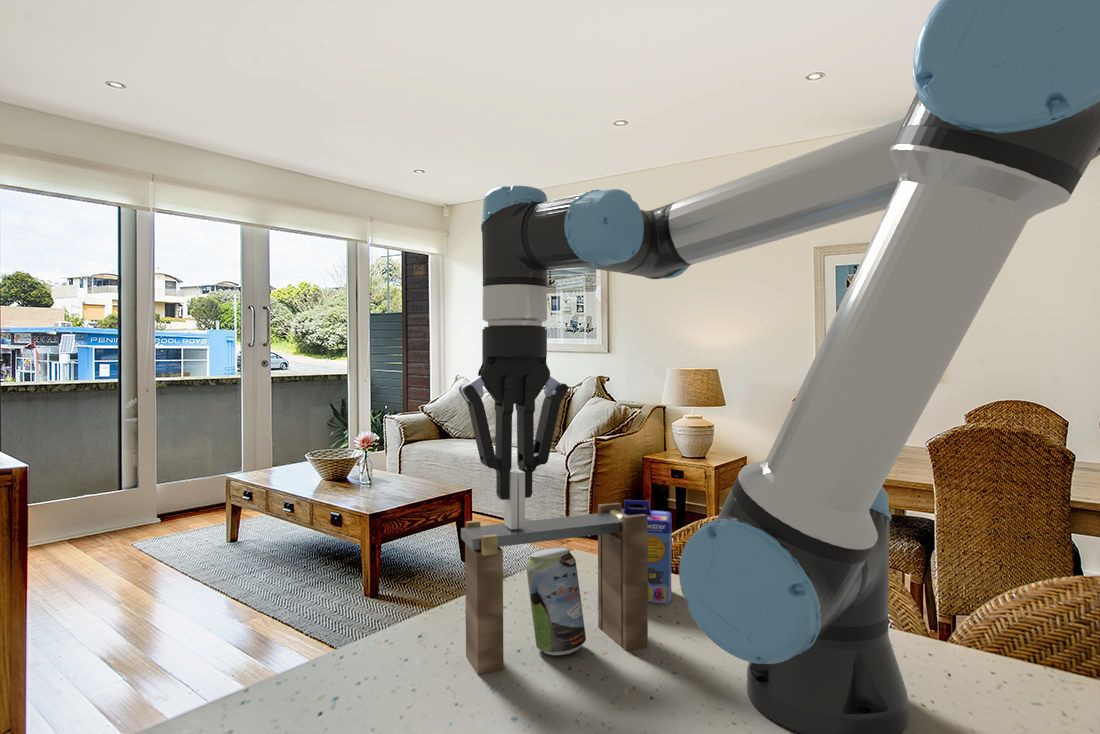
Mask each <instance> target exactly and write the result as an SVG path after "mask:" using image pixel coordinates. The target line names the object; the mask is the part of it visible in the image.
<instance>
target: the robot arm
mask: <svg viewBox="0 0 1100 734" xmlns="http://www.w3.org/2000/svg"><path fill="white" fill-rule="evenodd" d="M912 79H913V80H912V81H913V86H914V90H915V91H916V93H915V96H914V97H913V99H912V101H911V104H910V106H909V107H908V110H907V113H906V115H905V117H903V118H900V119H897V120H895V121H892V122H889V123H886V124H884V125H881V126H878V127H876V128H873V129H870V130H867V131H864V132H863V133H859V134H857V135H853V136H851V137H848V138H845V139H843V140H840V141H837V142H835V143H832V144H829V145H827V146H824V147H821V148H818V149H815V150H813V151H811V152H807V153H805V154H802V155H799V156H796V157H794V158H790V159H788V160H786V161H783V162H780V163H779V162H778V163H777V164H775V165H774V164H773V165H771V166H768V167H766V168H764V169H761V170H759V171H755V172H752V173H750V174H747V175H745V176H741V177H739V178H736V179H734V180H731V181H727V182H725V183H723V184H719V185H717V186H715V187H711V188H708V189H706V190H703V191H700V192H698V193H695V194H693V195H690V196H687V197H684V198H682V199H678V200H676V201H673V202H671V203H669V204H665V205H662V206H659V207H657V208H654V209H649V210H644V209H641V208H640V206H639V204H638V203H637V201H635V200H633V198H632V196H631V194H630V193H628V191H625V190H622V189H618V188H611V189H604V190H601V189H592V190H589V191H585V192H583V193H580V194H575V195H572V196H566V197H565V196H564V197H562V198H556V199H552V200H548V197H547V194H546V193H545V192H544V191H543V190H542V189H540V188H537V187H533V186H527V185H511V186H505V185H504V186H498V187H495V188H492V189H490V190H488V191H487V193H486V194H485V195H484V197H483V198H484V199H483V205H482V206H483V207H482V208H483V209H482V220H481V221H482V222H481V225H480V230H481V234H482V235H481V237H482V239H481V241H482V242H481V244H482V246H481V247H482V248H481V249H482V252H481V253H482V257H481V258H482V320H483V321H484V322H487V326H483V329H482V330H481V331H482V335H481V337H482V340H481V341H482V346H481V347H482V348H481V349H482V351H481V353H482V354H481V355H482V358H481V359H482V362H481V363H482V364H481V366H480V368H479V369H478V371H477V372H478V373H477V376H476V377H475V378H473V379H472V380H471V381H470V382H468V383H463V384H461V385H460V386H459V389H458V390H459V394H461V396H462V398H463V399H464V401H465V403H466V404H467V406H468V411H469V417H470V420H471V424H472V429H473V435H474V438H475V442H476V447H477V451H478V454H479V455H478V456H479V460H480V463H481V464H482V465H484V466H485V467H488V468H489V469H493V470H495V473H496V476H495V477H496V479H495V480H496V483H495V485H496V486H495V487H496V489H495V490H496V491H495V492H496V496H497V498H498V499H500V500H502V501H503V524H505V525H506V526H507V527H509V528H510V529H511V530H512V529H522V528H525V521H526V499H527V498H531V497H532V495H533V473H534V472H535V471H536V470H537V467H539V466H541V465H546V464H547V463H548V461H549V457H550V452H551V449H552V443H553V439H554V436H555V435H554V434H555V431H556V430H555V429H556V425H557V419H558V415H559V411H560V406H561V403H562V401H563V400H564V398H565V396H566V395H567V393H568V391H569V386H568V384H566V383H562V382H559V381H557V380H556V379H555V378H554V377H552V376H551V370H550V369H549V366H548V363H547V357H548V329H546V327H545V326H543V323H544V322H546V321H547V320H548V271H555V270H564V269H577V268H578V269H579V268H581V269H583V268H585V269H592V270H599V271H605V272H612V273H620V274H626V275H631V276H632V275H633V276H637V277H643V278H646V279H649V280H661V279H673V278H676V277H680V275H682V274H684V273H685V272H686V270H688V268H689V267H691V265H695V264H696V265H697V264H699V263H702V262H706V261H709V260H713V259H716V258H719V257H724V256H727V255H731V254H734V253H737V252H741V251H745V250H747V249H752V248H756V247H758V246H762V245H766V244H769V243H773V242H776V241H779V240H783V239H787V238H790V237H793V236H797V235H801V234H805V233H808V232H810V231H811V232H812V231H815V230H819V229H821V228H826V227H829V226H833V225H837V224H840V223H844V222H846V221H850V220H853V219H858V218H861V217H864V216H868V215H871V214H875V213H879V212H882V211H884V213H883V215H882V217H881V219H880V221H879V223H878V225H877V227H876V229H875V232H874V234H873V235H872V237H871V239H870V241H869V244H868V246H867V248H866V250H865V253H864V255H863V256H862V259H861V261H860V263H859V265H858V267H857V268H856V271H855V273H854V275H853V277H852V280H851V281H850V284H849V286H848V288H847V290H846V292H845V294H844V296H843V298H842V300H841V302H840V303H839V306H838V309H837V311H836V312H835V315H834V317H833V319H832V321H831V323H830V325H829V328H828V330H827V331H826V334H825V336H824V337H823V340H822V341H821V344H820V346H819V348H818V351H817V352H816V354H815V357H814V359H813V361H812V362H811V365H810V367H809V369H808V371H807V374H806V376H804V377H805V378H804V380H803V381H802V384H801V386H800V388H799V390H798V392H797V394H796V397H795V398H794V400H793V403H792V404H791V407H790V408H789V410H788V412H787V415H786V417H785V419H784V421H783V423H782V426H781V427H780V429H779V432H778V434H777V435H776V438H775V440H774V442H773V444H772V446H771V449H770V451H769V452H768V455H767V456H766V458H765V459H763V460H759V461H756V462H753V463H750V464H747V465H744V466H742V467H741V469H740V471H739V472H738V473H737V476H736V478H735V481H734V482H733V485H732V486H731V489H730V491H729V493H728V495H727V497H726V498H725V501H724V503H723V505H722V508H721V509H720V512H719V514H718V516H717V517H716V519H715V520H711V521H708V522H706V523H704V524H702V525H701V527H700V528H699V529H697V530H696V531H695V532H694V533H693V534H692V536H691V537H690V538H688V540H687V541H686V543H685V545H684V547H683V549H682V551H681V552H682V553H681V555H680V559H679V566H678V567H679V568H678V575H679V576H678V577H679V584H680V585H679V586H680V590H681V593H682V596H684V597H685V600H686V603H687V609H688V611H689V613H690V616H691V617H692V619H693V620H694V621H695V623H696V624H697V625H698V627H699V629H700V630H701V631H702V632H703V633H704V635H705V636H707V638H709V639H710V641H711V642H712V643H714V644H715V645H717V646H718V647H719V648H720V649H721V650H723V651H724V652H726V653H728V654H729V655H731V656H734V657H735V658H737V659H740V660H742V661H745V662H748V664H747V669H746V670H747V671H746V692H747V696H748V698H749V700H750V702H751V703H752V704H753V706H754V707H755V708H756V709H757V711H760V713H761V714H763V715H764V716H765V717H767V718H768V719H770V720H771V721H773V722H775V723H777V724H779V725H780V726H783V727H785V728H787V729H789V730H792V731H795V732H796V733H799V734H901V733H902V731H904V730H905V729H906V727H907V725H908V721H909V696H908V691H907V688H906V684H905V681H904V679H903V675H902V673H901V669H900V667H899V664H898V661H897V658H896V655H895V652H894V649H893V645H892V643H891V639H890V637H889V612H890V611H889V609H890V608H889V603H890V602H889V599H890V597H889V596H890V595H889V594H890V593H889V589H890V587H889V586H890V585H889V584H890V583H889V582H890V581H889V580H890V522H892V514H891V512H890V505H889V503H890V502H889V495H888V492H887V491H886V489H885V488H884V487H883V485H884V484H885V482H886V479H887V478H888V477H889V475H890V472H891V471H892V469H893V467H894V466H895V463H896V462H897V460H898V458H899V456H900V455H901V453H902V451H903V449H904V447H905V445H906V443H907V442H908V440H909V438H910V436H911V435H912V432H913V431H914V429H915V428H916V427H915V426H916V425H917V424H918V422H919V419H920V418H921V416H922V414H923V412H924V410H925V409H926V407H927V405H928V403H929V401H931V400H930V399H931V398H932V396H933V394H934V392H935V391H936V388H937V386H938V385H939V384H940V381H941V380H942V378H943V376H944V375H945V372H946V370H947V369H948V367H949V365H950V363H951V362H952V360H953V358H954V356H955V354H956V352H957V350H958V349H959V347H960V345H961V343H962V341H963V339H964V337H965V336H966V334H967V333H968V330H969V328H970V327H971V326H972V323H973V321H974V319H975V318H976V317H977V314H978V312H979V310H980V308H982V304H984V301H985V299H986V298H987V295H988V294H989V293H990V291H991V288H992V286H993V285H994V283H995V281H996V280H997V277H998V275H999V274H1000V272H1001V270H1002V268H1004V267H1003V266H1004V265H1005V263H1006V261H1007V259H1008V257H1009V255H1010V254H1011V252H1012V250H1013V248H1014V246H1015V244H1016V243H1017V241H1018V239H1019V238H1020V235H1021V233H1022V232H1023V230H1024V229H1025V226H1027V225H1026V224H1027V223H1028V221H1029V220H1030V219H1032V218H1033V217H1035V216H1036V215H1039V214H1040V213H1041V214H1042V213H1043V212H1045V211H1048V210H1050V209H1053V208H1056V207H1058V206H1060V205H1063V204H1066V203H1067V202H1068V201H1069V200H1070V199H1071V196H1072V195H1073V192H1074V191H1075V189H1076V187H1077V185H1078V184H1079V182H1080V180H1081V178H1082V177H1083V175H1084V174H1085V172H1086V170H1087V168H1088V166H1089V165H1090V163H1091V161H1092V160H1094V159H1096V158H1097V157H1099V156H1100V0H938V1H937V3H935V5H934V7H933V8H932V9H931V11H930V12H929V13H928V15H927V17H926V19H925V21H924V22H923V24H922V27H921V28H920V31H919V34H918V37H917V39H916V42H915V46H914V52H913V62H912ZM483 387H484V389H485V390H486V391H487V393H488V394H489V395H490V397H491V399H493V401H494V411H495V445H494V444H493V440H492V436H491V430H490V427H489V426H490V425H489V422H488V418H487V413H486V409H485V405H484V402H483V400H482V398H483V396H484V390H483ZM543 389H544V390H543ZM542 390H543V392H544V395H545V396H544V397H543V401H542V406H541V411H540V415H539V420H538V425H537V429H536V433H535V434H534V431H535V427H534V424H535V423H534V421H535V420H534V419H535V418H534V417H535V415H534V414H535V412H536V399H537V398H538V396H539V395H540V393H541V392H542ZM514 406H515V408H514ZM514 409H515V410H516V448H517V449H516V452H517V453H516V454H517V456H516V457H517V459H516V460H517V461H516V465H517V466H518V468H512V467H513V466H512V462H513V461H512V459H513V457H512V456H513V455H512V454H513V453H512V451H513V449H512V448H513V447H512V445H513V441H512V440H513V413H514ZM534 437H535V438H534ZM494 446H495V449H494Z"/></svg>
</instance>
